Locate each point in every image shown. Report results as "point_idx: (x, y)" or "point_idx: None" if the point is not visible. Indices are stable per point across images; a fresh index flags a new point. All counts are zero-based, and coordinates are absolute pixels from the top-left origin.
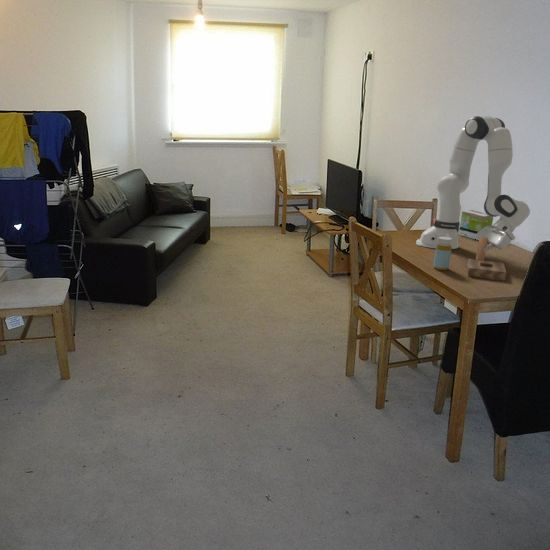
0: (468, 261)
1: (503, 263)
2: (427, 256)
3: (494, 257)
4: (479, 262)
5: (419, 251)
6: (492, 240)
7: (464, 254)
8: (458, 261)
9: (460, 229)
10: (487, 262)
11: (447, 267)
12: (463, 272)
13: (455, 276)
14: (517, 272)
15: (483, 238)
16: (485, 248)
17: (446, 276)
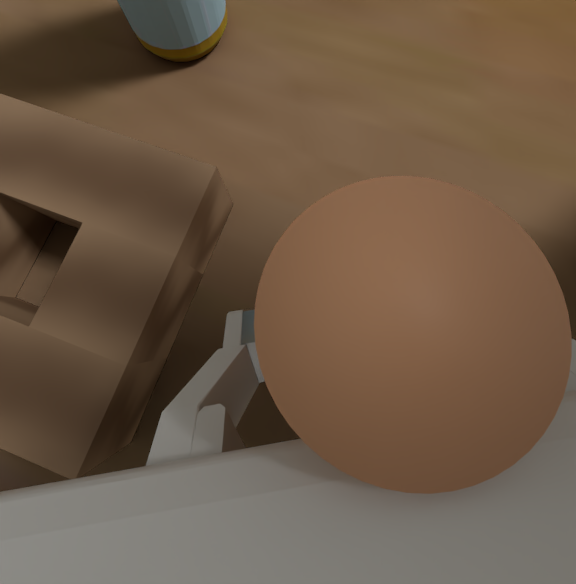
0: (127, 137)
1: (49, 467)
2: (451, 26)
3: None
4: (94, 223)
5: (569, 10)
6: (110, 572)
7: (572, 309)
8: None
9: None
10: (92, 302)
11: (133, 28)
12: None
13: (30, 63)
14: None
15: (353, 295)
16: (225, 334)
17: (35, 16)
